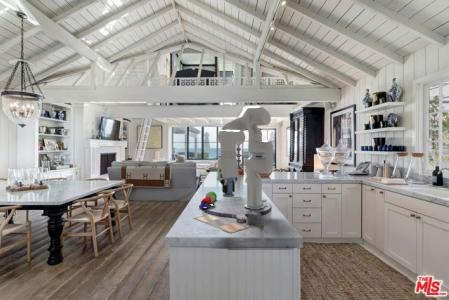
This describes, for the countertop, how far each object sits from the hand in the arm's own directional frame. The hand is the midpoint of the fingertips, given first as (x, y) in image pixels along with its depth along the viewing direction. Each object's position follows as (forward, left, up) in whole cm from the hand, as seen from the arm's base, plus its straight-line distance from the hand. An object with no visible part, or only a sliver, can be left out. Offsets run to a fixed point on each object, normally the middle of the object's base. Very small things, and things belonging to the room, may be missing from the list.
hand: (228, 191), depth 135 cm
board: (0, -8, -17) cm, 19 cm away
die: (-14, +4, -18) cm, 23 cm away
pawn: (0, 0, -2) cm, 2 cm away
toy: (-17, -39, -18) cm, 46 cm away
